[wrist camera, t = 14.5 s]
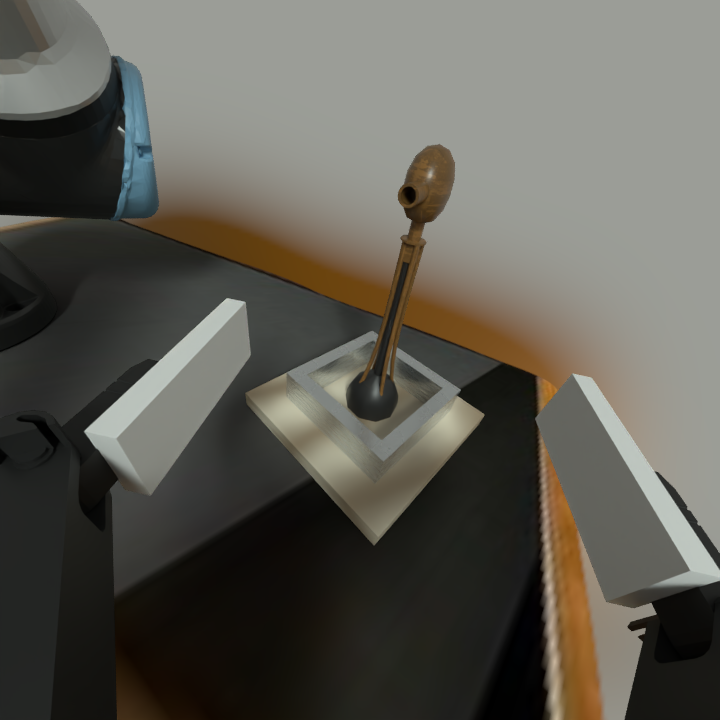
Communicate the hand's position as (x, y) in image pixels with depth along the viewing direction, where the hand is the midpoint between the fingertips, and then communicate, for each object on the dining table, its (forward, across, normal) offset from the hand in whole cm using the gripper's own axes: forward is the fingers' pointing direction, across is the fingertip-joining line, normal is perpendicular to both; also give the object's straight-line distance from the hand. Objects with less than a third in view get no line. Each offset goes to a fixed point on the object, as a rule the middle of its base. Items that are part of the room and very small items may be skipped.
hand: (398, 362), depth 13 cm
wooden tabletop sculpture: (+9, 0, -13) cm, 16 cm away
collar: (+9, 0, -13) cm, 16 cm away
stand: (+10, 0, -15) cm, 17 cm away
